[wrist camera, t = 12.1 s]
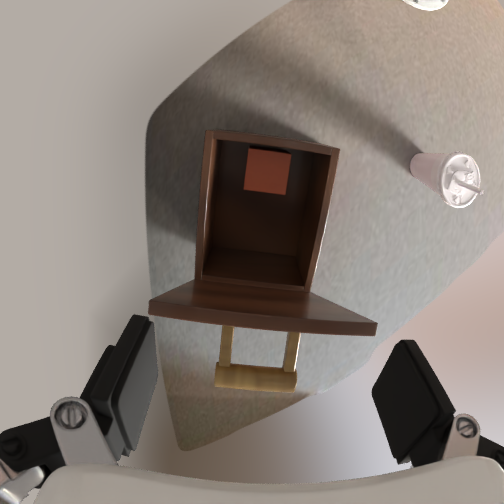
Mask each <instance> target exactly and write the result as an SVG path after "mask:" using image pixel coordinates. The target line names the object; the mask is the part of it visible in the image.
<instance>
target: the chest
mask: <svg viewBox="0 0 504 504" xmlns="http://www.w3.org/2000/svg"><path fill="white" fill-rule="evenodd" d="M249 146H256V147H264V148H271V149H278V150H285V151H288V152H289V153H291V154H292V156H291V163H290V169H289V176H288V182H287V188H286V194H285V195H281V194H274V193H266V192H258V191H250V190H244V181H245V173H246V165H247V157H248V149H249ZM339 153H340V149H338V148H335V147H331V146H328V145H324V144H320V143H314V142H309V141H303V140H297V139H291V138H285V137H278V136H271V135H263V134H256V133H247V132H238V131H228V130H206V131H205V140H204V150H203V160H202V171H201V182H200V195H199V208H198V222H197V238H196V256H195V279H198V280H205V281H213V282H222V283H230V284H239V285H247V286H256V287H265V288H275V289H284V290H294V291H304V292H310V291H311V287H312V283H313V278H314V274H315V270H316V266H317V262H318V257H319V253H320V249H321V244H322V240H323V235H324V231H325V226H326V221H327V216H328V212H329V207H330V202H331V197H332V191H333V186H334V181H335V176H336V170H337V164H338V159H339Z"/></svg>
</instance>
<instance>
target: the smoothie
mask: <svg viewBox="0 0 504 504" xmlns="http://www.w3.org/2000/svg"><path fill="white" fill-rule="evenodd" d="M410 170H411V173H412V175H413V176H414V177H415V178H416V179H418V180H419V181H421V182H422V183H423V184H425V185H426V186H428V187H429V188H430V189H432V190H433V191H435V192H436V193H437V194H438V195H440V197H441V198H442V200H443V201H444V202H445V203H447V204H448V205H450V206H453V207H456V208H462V207H465V206H467V205H469V204H470V203H471V202H472V201H473V200H474V198H475V197H476V195H477V193H478V194H480V195H484V190H482V189H480V188H479V185H480V173H479V168H478V166H477V163H476V162H475V160H474V159H473V158H472V157H471V156H470V155H468V154H466V153H463V152H461V151H454V152H451V153H447V154H445V153H419V154H416V155H415V156H414V157H413V158H412V160H411V162H410Z"/></svg>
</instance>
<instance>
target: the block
mask: <svg viewBox="0 0 504 504" xmlns="http://www.w3.org/2000/svg"><path fill="white" fill-rule="evenodd" d="M291 156H292V154H291V153H289V152H288V151H285V150H278V149H271V148H264V147H256V146H249V149H248V157H247V165H246V173H245V181H244V190H250V191H258V192H266V193H274V194H281V195H285V194H286V188H287V182H288V176H289V169H290V163H291Z"/></svg>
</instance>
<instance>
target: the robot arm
mask: <svg viewBox="0 0 504 504" xmlns="http://www.w3.org/2000/svg"><path fill="white" fill-rule="evenodd" d="M402 1H404V2H405V3H407V4H409V5H411V6H413V7H416V8H419V9H422V10H437V9H439V8H441V7H443V6H445V5H446V4H447V2H448V0H402ZM157 378H158V367H157V357H156V345H155V332H154V323H153V322H151V321H149V317H145V316H140V315H133V316H132V317H131V319H130V321H129V322H128V324H127V326H126V328H125V329H124V331H123V333H122V335H121V337H120V339H119V340H118V342H117V344H116V346H113V345H109V346H108V347H107V348H106V349H105V351H104V353H103V355H102V357H101V358H100V360H99V362H98V364H97V366H96V367H95V369H94V371H93V373H92V375H91V377H90V379H89V381H88V383H87V384H86V387H85V388H84V390H83V392H82V394H81V396H80V398H78V397H65V398H62V399H60V400H58V401H57V402H56V403H55V404H54V405H53V406H52V408H51V411H50V417H47V418H44V419H41V420H38V421H34V422H31V423H28V424H24V425H21V426H18V427H14V428H10V429H8V430H5V431H3V432H2V433H1V434H0V504H20V502H21V501H22V500H23V499H24V498H25V497H27V496H28V492H29V491H31V490H32V489H33V488H38V489H39V488H41V489H40V491H39V493H38V495H37V497H36V499H35V501H34V504H504V447H503V446H501V445H499V444H497V443H495V442H492V441H491V440H489V439H487V438H485V437H482V436H481V435H480V426H479V424H478V422H477V421H476V420H475V419H474V418H473V417H472V416H470V415H468V414H459V415H457V416H456V417H454V415H453V414H454V413H455V412H456V410H455V408H454V407H453V405H452V403H451V401H450V399H449V397H448V395H447V394H446V392H445V390H444V388H443V387H442V385H441V383H440V382H439V380H438V378H437V376H436V375H435V373H434V371H433V369H432V368H431V366H430V365H429V363H428V361H427V359H426V358H425V356H424V355H423V353H422V351H421V350H420V348H419V346H418V345H417V343H416V342H415V341H414V340H401V341H399V343H397V344H396V345H395V346H394V348H393V350H392V353H391V355H390V356H389V358H388V360H387V362H386V364H385V366H384V368H383V370H382V372H381V373H380V375H379V377H378V379H377V381H376V383H375V384H374V386H373V388H372V397H373V400H374V403H375V405H376V408H377V411H378V414H379V417H380V419H381V422H382V425H383V428H384V431H385V434H386V437H387V440H388V443H389V446H390V449H391V452H392V455H393V457H394V458H396V459H397V463H398V464H403V463H408V462H410V461H411V462H412V466H411V468H410V469H406V470H402V471H397V472H393V473H388V474H382V475H377V476H371V477H365V478H357V479H351V480H343V481H342V480H341V481H332V482H319V483H303V484H252V483H234V482H222V481H213V480H204V479H196V478H189V477H181V476H175V475H169V474H163V473H158V472H153V471H148V470H142V469H137V468H132V467H125V466H119V465H118V463H117V462H116V461H119V460H120V458H121V455H124V456H128V457H129V454H130V451H131V450H133V451H135V450H136V447H137V444H138V441H139V437H140V434H141V430H142V427H143V424H144V421H145V417H146V414H147V411H148V408H149V404H150V401H151V398H152V395H153V392H154V389H155V385H156V382H157Z"/></svg>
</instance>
